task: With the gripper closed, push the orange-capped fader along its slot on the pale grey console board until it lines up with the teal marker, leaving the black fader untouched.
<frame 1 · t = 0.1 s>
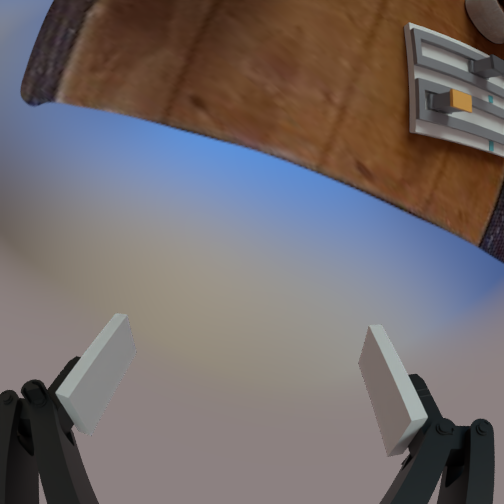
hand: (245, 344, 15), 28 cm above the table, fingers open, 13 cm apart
planter: (484, 19, 25), on the table
fader a: (450, 102, 28), point 5 cm above the table, slide at 0.0 cm
console: (463, 93, 31), on the table
fader b: (488, 67, 25), point 5 cm above the table, slide at 9.0 cm
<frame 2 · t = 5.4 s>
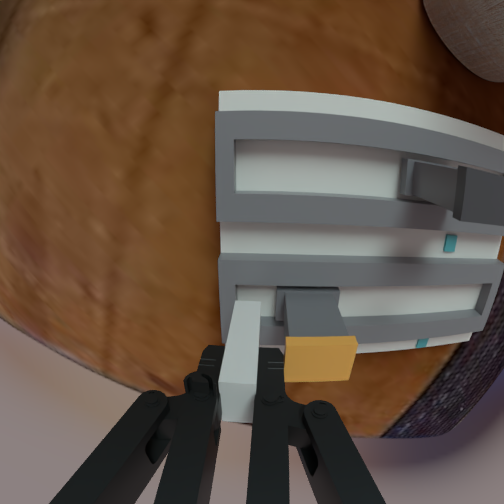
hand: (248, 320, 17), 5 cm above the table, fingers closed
planter: (469, 26, 12), on the table
fader a: (312, 327, 16), point 5 cm above the table, slide at 1.6 cm, touching gripper
console: (380, 234, 19), on the table
fader b: (453, 186, 13), point 5 cm above the table, slide at 9.0 cm
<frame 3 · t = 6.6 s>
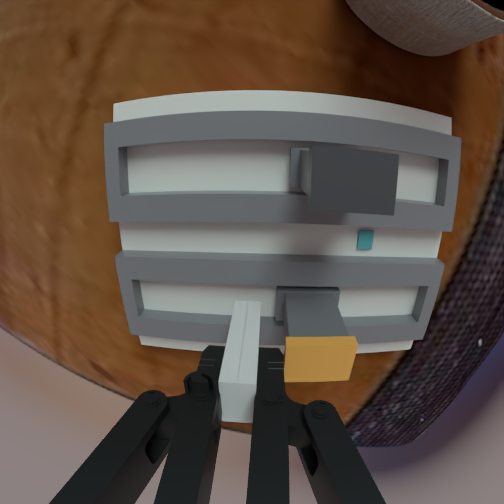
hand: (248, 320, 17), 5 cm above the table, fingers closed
planter: (402, 0, 13), on the table
fader a: (312, 327, 16), point 5 cm above the table, slide at 8.5 cm, touching gripper
console: (285, 231, 20), on the table
fader b: (337, 173, 13), point 5 cm above the table, slide at 9.0 cm
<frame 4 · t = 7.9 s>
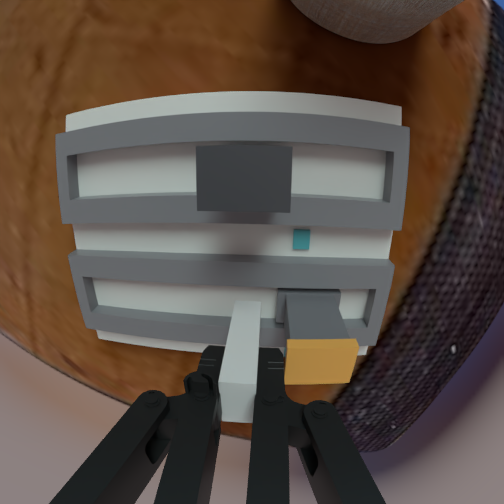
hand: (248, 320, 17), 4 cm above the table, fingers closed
fader a: (313, 330, 16), point 5 cm above the table, slide at 12.7 cm, touching gripper
console: (223, 231, 20), on the table
fader b: (248, 171, 13), point 5 cm above the table, slide at 9.0 cm
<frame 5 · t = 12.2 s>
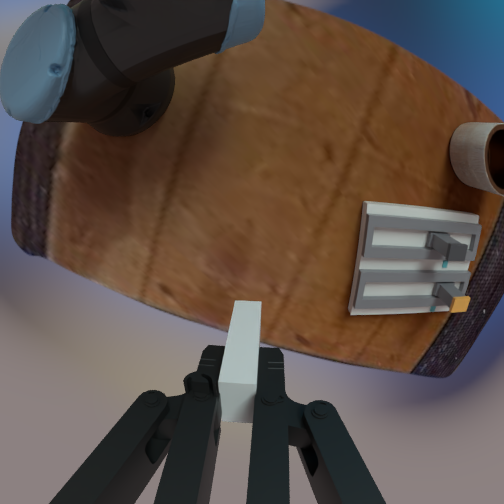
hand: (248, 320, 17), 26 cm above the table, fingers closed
planter: (470, 154, 36), on the table
fader a: (451, 296, 39), point 5 cm above the table, slide at 12.7 cm
console: (416, 260, 43), on the table
fader b: (447, 245, 36), point 5 cm above the table, slide at 9.0 cm
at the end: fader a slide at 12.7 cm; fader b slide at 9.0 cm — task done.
